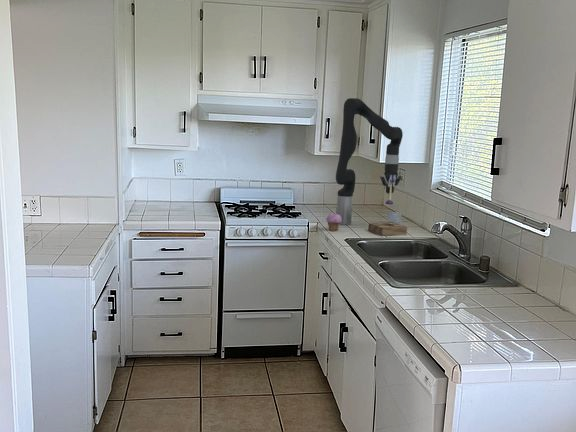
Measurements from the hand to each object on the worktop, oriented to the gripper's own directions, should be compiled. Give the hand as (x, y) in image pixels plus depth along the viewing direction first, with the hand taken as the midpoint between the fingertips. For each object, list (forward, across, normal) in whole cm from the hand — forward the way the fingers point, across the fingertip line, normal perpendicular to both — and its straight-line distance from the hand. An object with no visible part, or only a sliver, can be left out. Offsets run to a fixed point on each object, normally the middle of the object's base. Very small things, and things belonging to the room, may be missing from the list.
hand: (389, 193), depth 332 cm
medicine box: (+23, -14, -14) cm, 30 cm away
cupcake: (+23, +28, -13) cm, 38 cm away
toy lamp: (+6, 0, 0) cm, 6 cm away
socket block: (+23, 0, 0) cm, 23 cm away
